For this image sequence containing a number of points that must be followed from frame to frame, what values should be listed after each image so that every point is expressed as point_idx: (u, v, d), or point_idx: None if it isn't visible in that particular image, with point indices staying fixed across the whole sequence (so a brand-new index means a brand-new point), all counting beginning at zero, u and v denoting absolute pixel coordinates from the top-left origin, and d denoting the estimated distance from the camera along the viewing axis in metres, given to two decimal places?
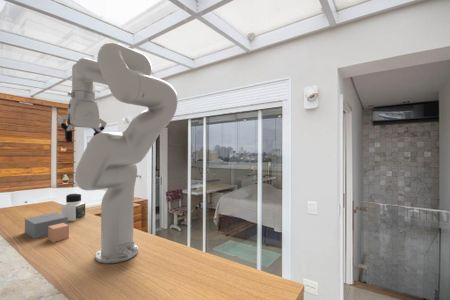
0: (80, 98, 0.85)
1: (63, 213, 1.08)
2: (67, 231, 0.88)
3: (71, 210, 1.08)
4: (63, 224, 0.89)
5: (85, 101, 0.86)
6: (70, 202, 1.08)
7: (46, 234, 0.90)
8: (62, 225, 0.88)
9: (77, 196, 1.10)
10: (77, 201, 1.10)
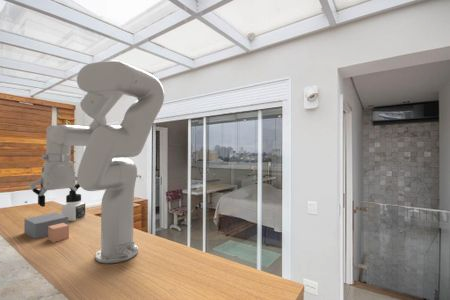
0: (54, 162, 0.84)
1: (63, 213, 1.08)
2: (67, 231, 0.88)
3: (71, 210, 1.08)
4: (63, 224, 0.89)
5: (59, 164, 0.85)
6: (70, 202, 1.08)
7: (47, 234, 0.90)
8: (62, 225, 0.88)
9: (77, 196, 1.10)
10: (77, 201, 1.10)
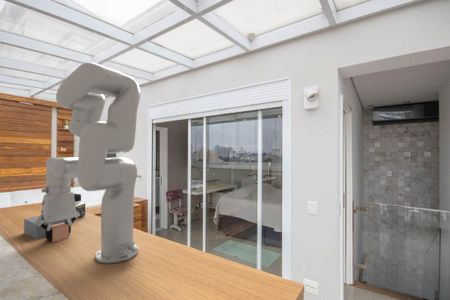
0: (54, 194, 0.84)
1: None
2: (67, 231, 0.88)
3: None
4: (62, 224, 0.89)
5: (59, 196, 0.85)
6: None
7: None
8: (62, 225, 0.88)
9: (77, 196, 1.10)
10: (77, 201, 1.10)
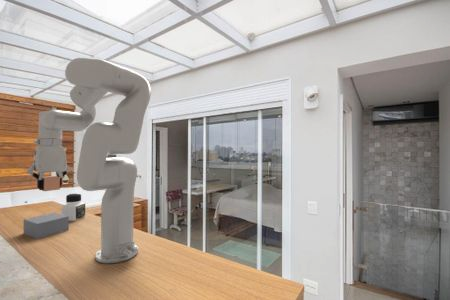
0: (46, 145, 0.88)
1: (63, 213, 1.08)
2: (58, 182, 0.92)
3: (71, 210, 1.08)
4: (54, 176, 0.93)
5: (51, 148, 0.90)
6: (70, 202, 1.08)
7: (48, 234, 0.90)
8: (54, 176, 0.93)
9: (77, 196, 1.10)
10: (77, 201, 1.10)
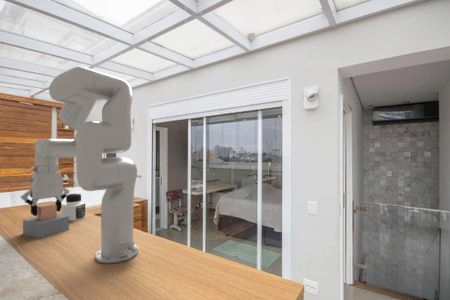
0: (42, 173, 0.90)
1: (63, 213, 1.08)
2: (55, 210, 0.94)
3: (71, 210, 1.08)
4: (51, 204, 0.95)
5: (47, 174, 0.92)
6: (70, 202, 1.08)
7: (49, 233, 0.90)
8: (50, 205, 0.95)
9: (77, 196, 1.10)
10: (77, 201, 1.10)
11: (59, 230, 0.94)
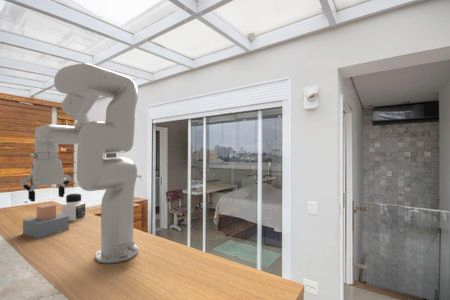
0: (42, 159, 0.90)
1: (63, 213, 1.08)
2: (54, 211, 0.94)
3: (71, 210, 1.08)
4: (50, 205, 0.95)
5: (47, 161, 0.92)
6: (70, 202, 1.08)
7: (49, 233, 0.90)
8: (50, 205, 0.95)
9: (77, 196, 1.10)
10: (77, 201, 1.10)
11: (59, 230, 0.94)
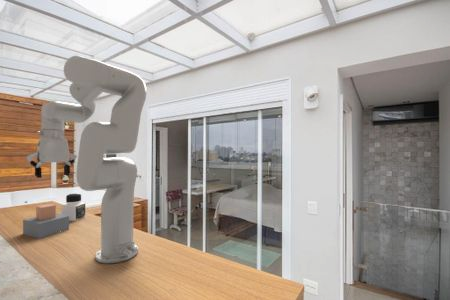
0: (49, 136, 0.91)
1: (63, 213, 1.08)
2: (54, 210, 0.94)
3: (71, 210, 1.08)
4: (50, 204, 0.95)
5: (53, 139, 0.93)
6: (70, 202, 1.08)
7: (49, 233, 0.90)
8: (49, 205, 0.95)
9: (77, 196, 1.10)
10: (77, 201, 1.10)
11: (59, 230, 0.94)
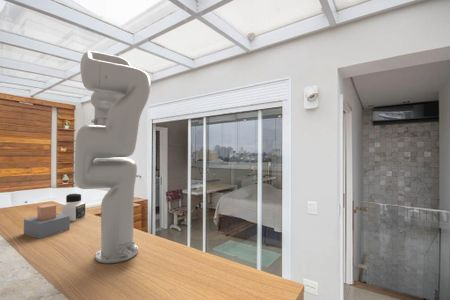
0: (102, 125, 0.99)
1: (63, 213, 1.08)
2: (54, 211, 0.94)
3: (71, 210, 1.08)
4: (51, 204, 0.95)
5: None
6: (70, 202, 1.08)
7: (50, 233, 0.90)
8: (50, 205, 0.95)
9: (77, 196, 1.10)
10: (77, 201, 1.10)
11: (60, 230, 0.94)
